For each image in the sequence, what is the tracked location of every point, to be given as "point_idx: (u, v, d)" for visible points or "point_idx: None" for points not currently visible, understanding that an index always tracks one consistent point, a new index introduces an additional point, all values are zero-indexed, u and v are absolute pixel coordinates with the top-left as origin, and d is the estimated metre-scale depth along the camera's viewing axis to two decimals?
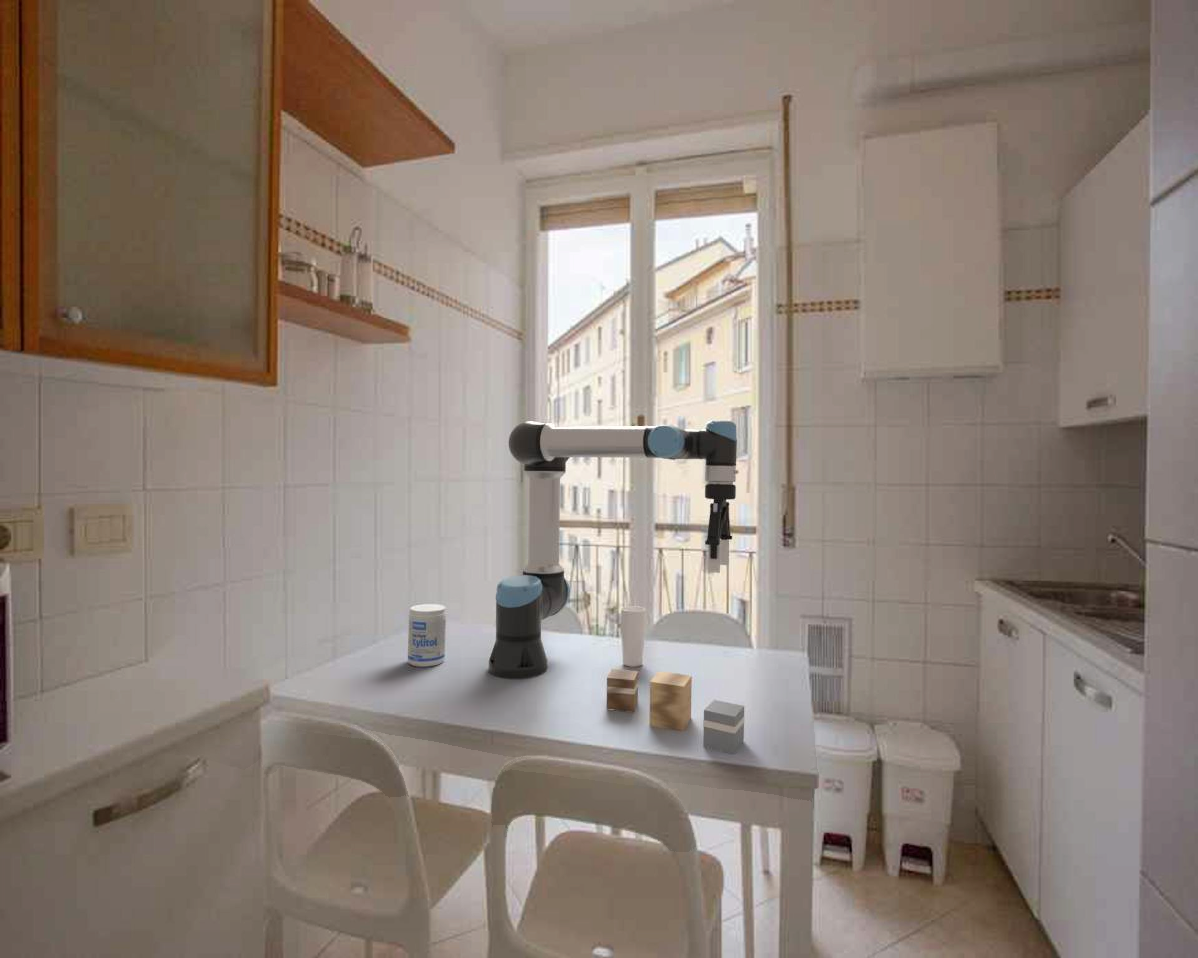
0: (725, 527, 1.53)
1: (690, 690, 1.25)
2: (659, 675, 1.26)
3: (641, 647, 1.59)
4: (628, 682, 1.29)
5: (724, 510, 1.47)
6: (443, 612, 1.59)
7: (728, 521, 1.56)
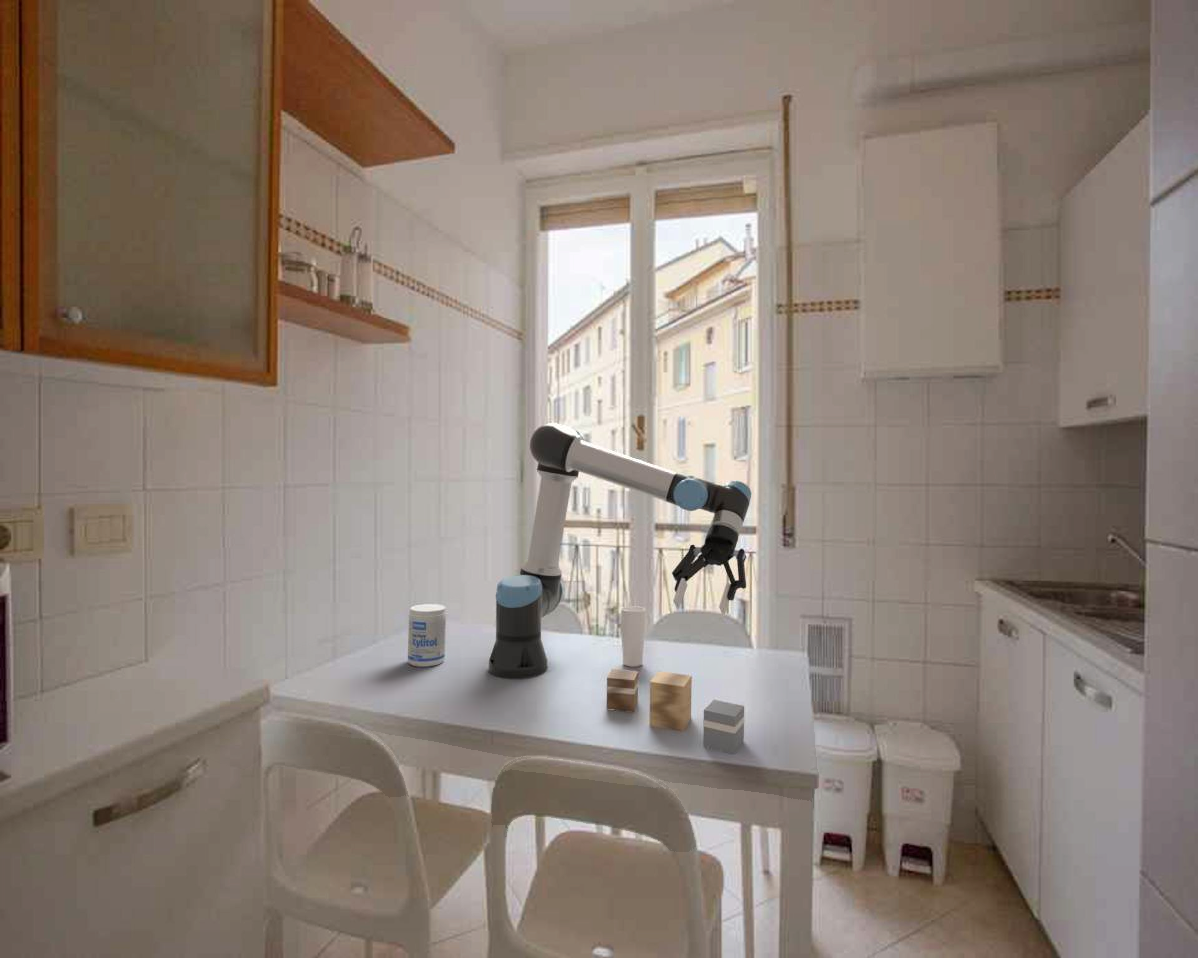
0: (696, 571, 1.45)
1: (690, 690, 1.25)
2: (659, 675, 1.26)
3: (641, 647, 1.59)
4: (628, 682, 1.29)
5: None
6: (443, 612, 1.59)
7: None
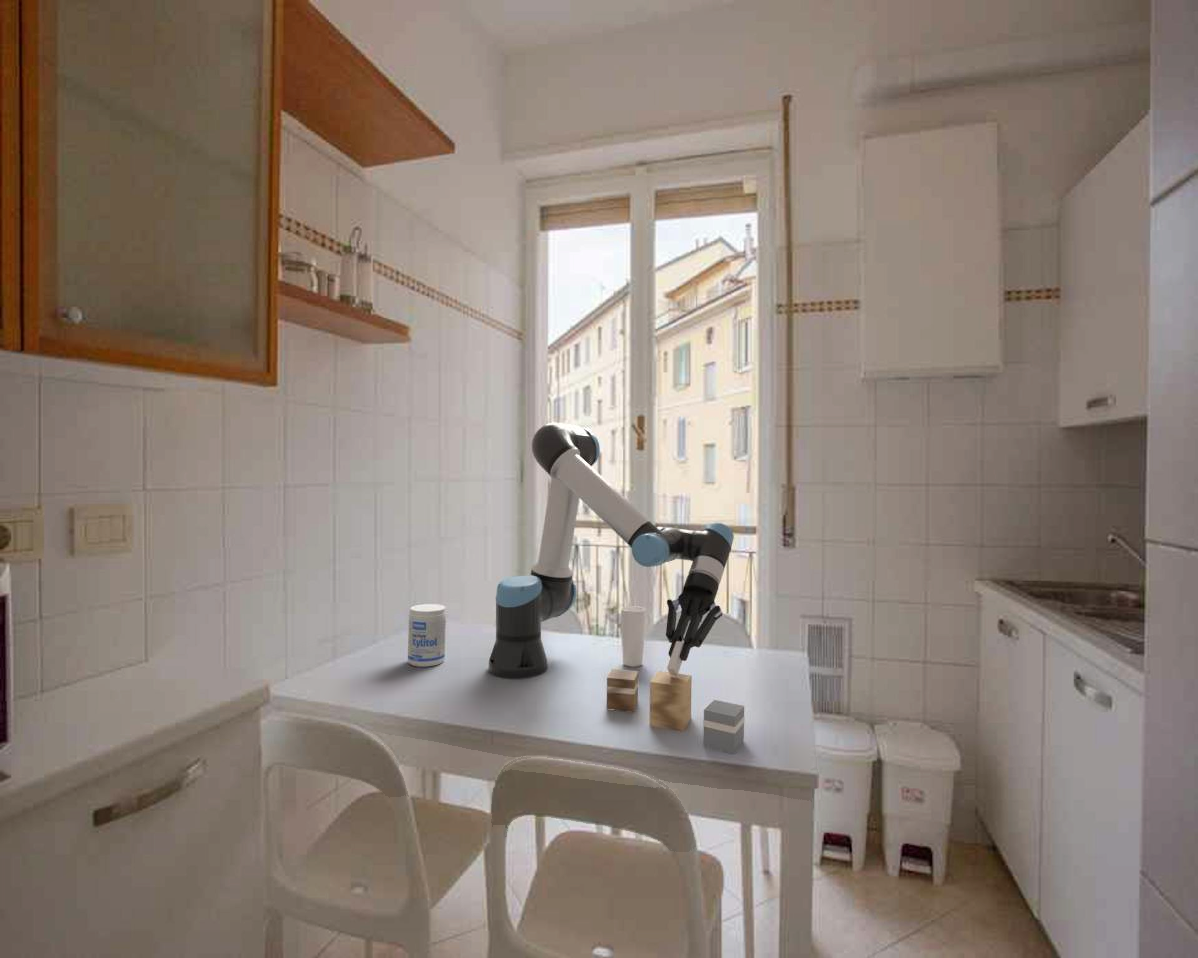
0: (685, 627, 1.32)
1: (690, 690, 1.25)
2: (659, 675, 1.26)
3: (641, 647, 1.59)
4: (628, 682, 1.29)
5: None
6: (443, 612, 1.59)
7: (675, 623, 1.34)
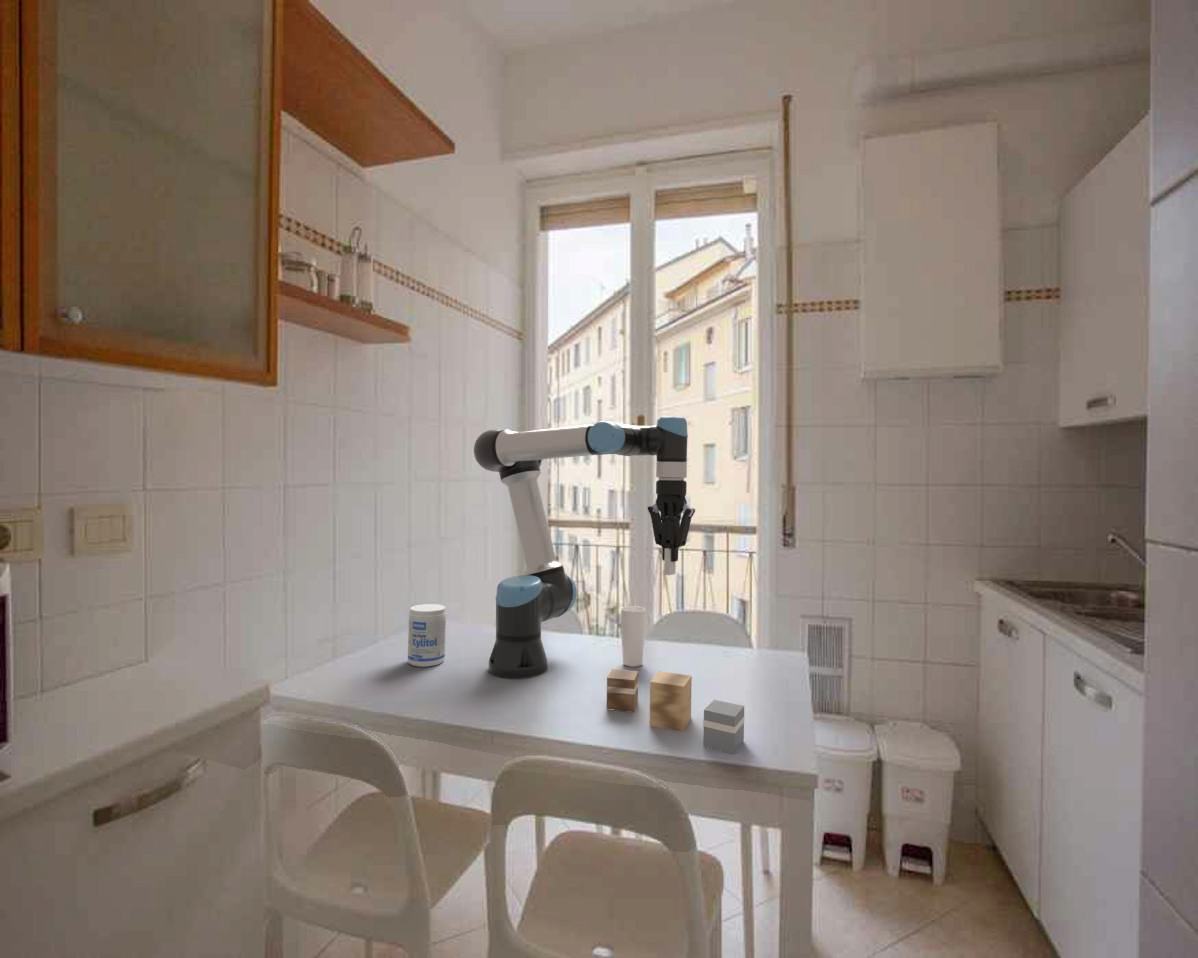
0: (670, 528, 1.50)
1: (690, 690, 1.25)
2: (659, 675, 1.26)
3: (641, 647, 1.59)
4: (628, 682, 1.29)
5: None
6: (443, 612, 1.59)
7: (661, 524, 1.52)
